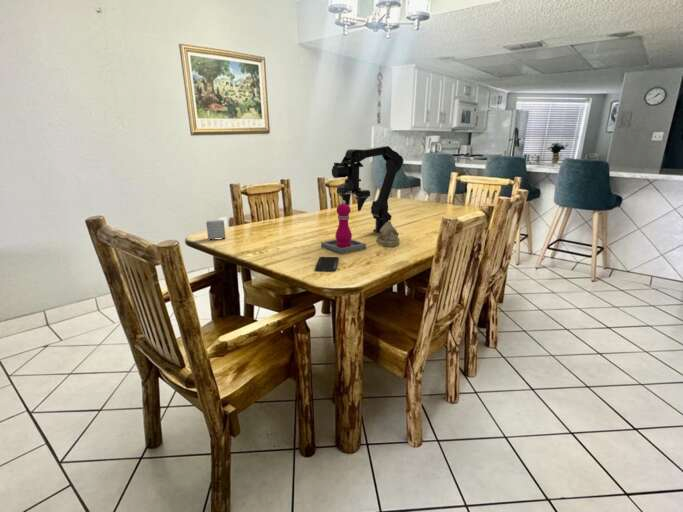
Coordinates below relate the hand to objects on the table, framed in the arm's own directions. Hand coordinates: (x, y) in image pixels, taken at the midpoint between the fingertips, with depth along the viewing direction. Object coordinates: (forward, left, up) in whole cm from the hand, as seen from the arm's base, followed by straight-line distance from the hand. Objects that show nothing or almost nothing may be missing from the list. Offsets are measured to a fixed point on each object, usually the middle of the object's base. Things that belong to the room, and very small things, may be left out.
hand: (352, 209), depth 175 cm
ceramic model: (+20, +5, -13) cm, 25 cm away
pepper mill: (+14, -17, -12) cm, 25 cm away
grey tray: (+14, -17, -13) cm, 26 cm away
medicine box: (-36, -55, -13) cm, 67 cm away
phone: (+28, -36, -14) cm, 48 cm away
